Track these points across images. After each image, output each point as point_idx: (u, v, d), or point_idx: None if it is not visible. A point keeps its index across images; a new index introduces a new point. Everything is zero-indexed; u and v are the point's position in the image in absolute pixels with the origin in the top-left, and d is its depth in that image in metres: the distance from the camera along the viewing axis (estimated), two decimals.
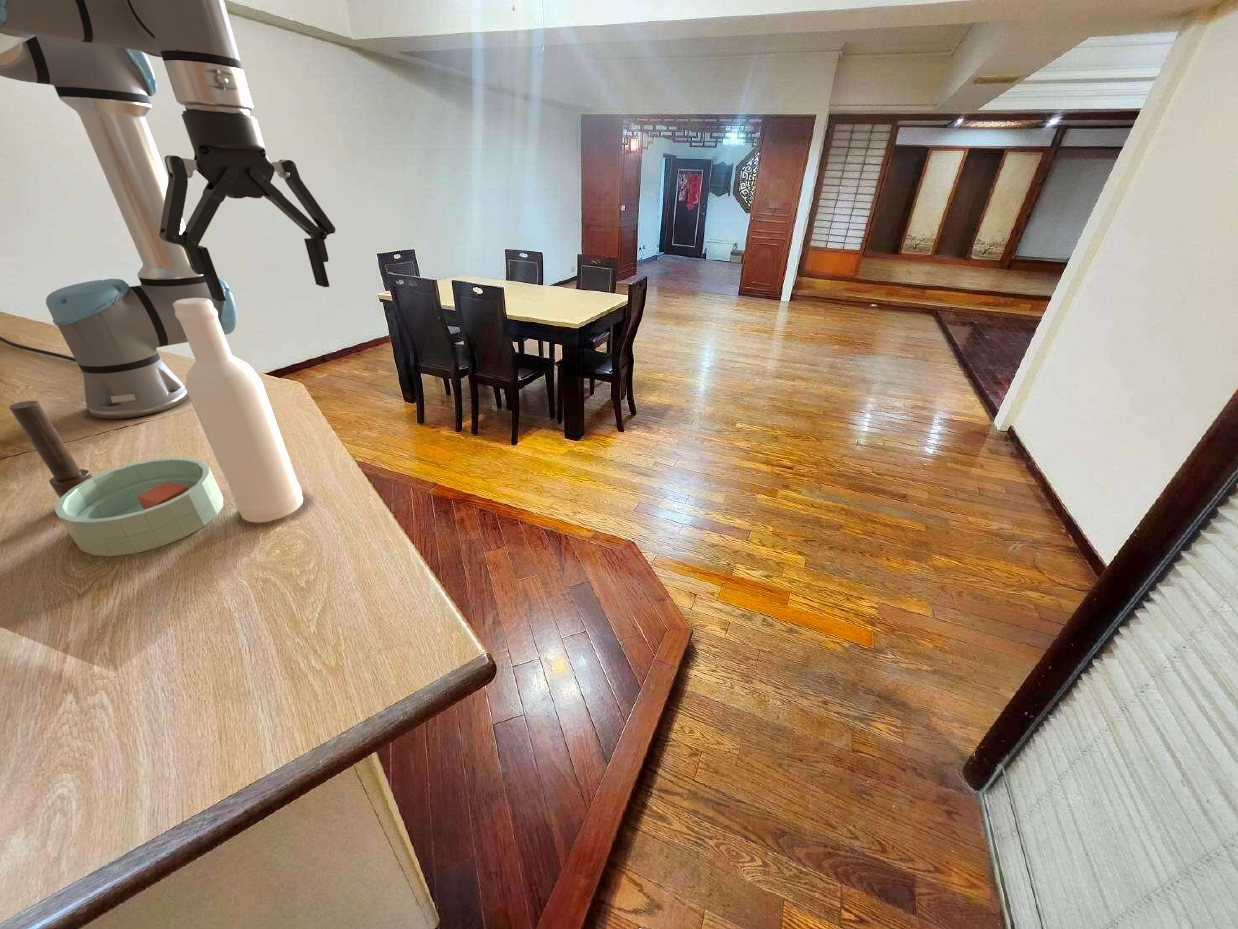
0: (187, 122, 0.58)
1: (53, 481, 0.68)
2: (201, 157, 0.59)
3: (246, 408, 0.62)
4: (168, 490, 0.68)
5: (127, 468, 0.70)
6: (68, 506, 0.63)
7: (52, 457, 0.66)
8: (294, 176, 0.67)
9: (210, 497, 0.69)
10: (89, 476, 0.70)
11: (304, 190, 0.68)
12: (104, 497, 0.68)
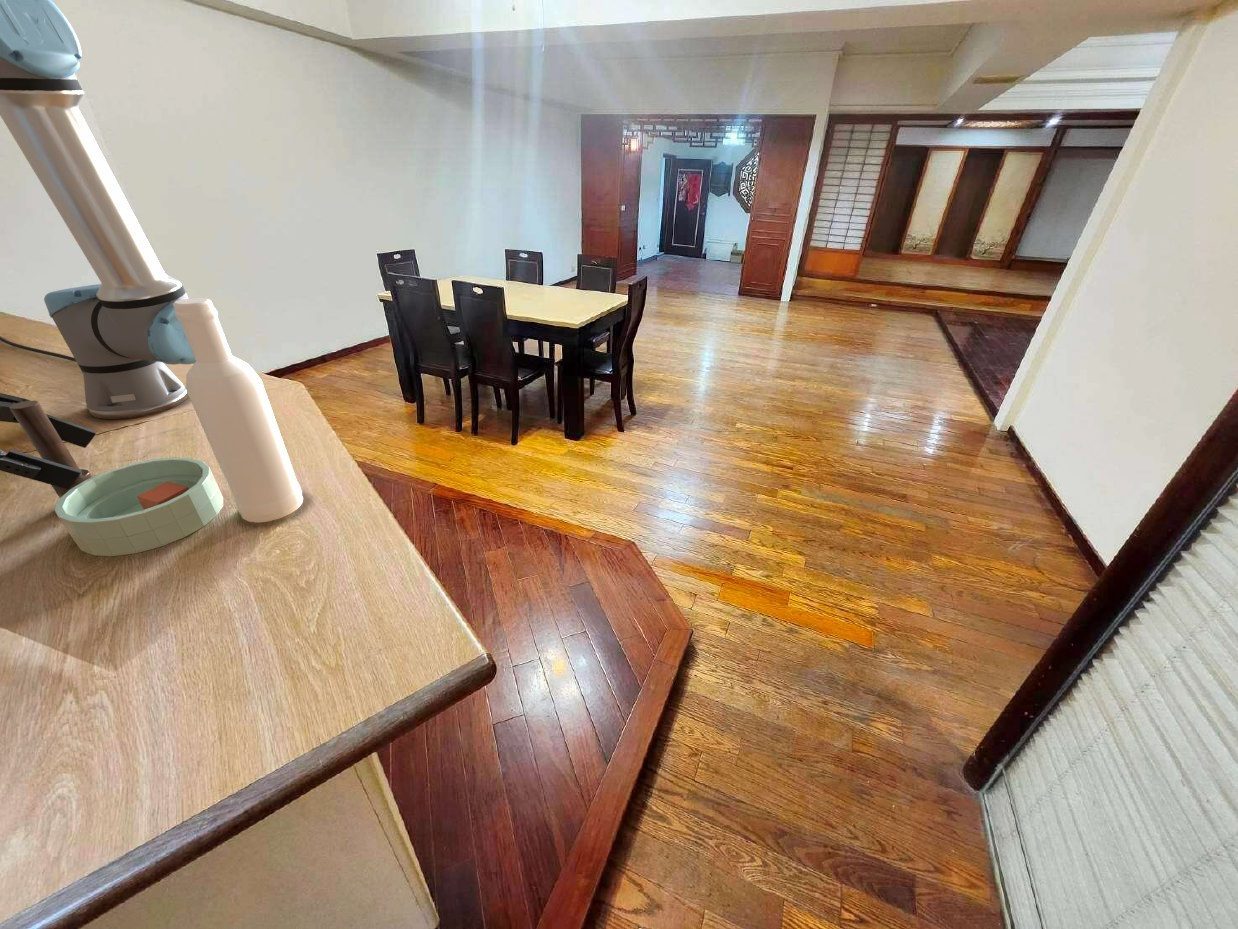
0: None
1: None
2: None
3: (246, 408, 0.62)
4: (168, 490, 0.68)
5: (127, 468, 0.70)
6: (68, 506, 0.63)
7: (52, 457, 0.66)
8: None
9: (210, 497, 0.69)
10: (89, 476, 0.70)
11: None
12: (104, 497, 0.68)
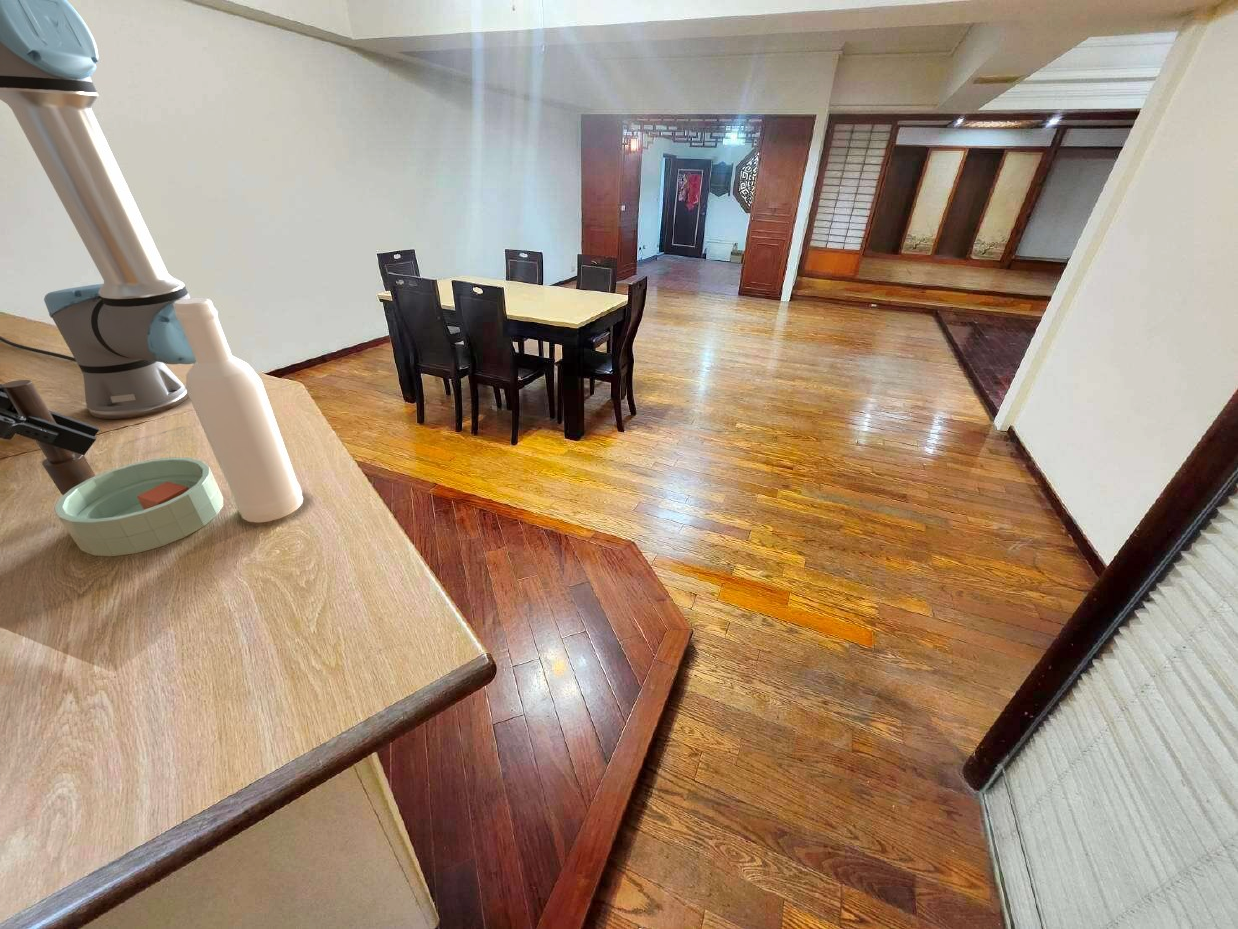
0: None
1: (46, 463, 0.67)
2: None
3: (246, 408, 0.62)
4: (168, 490, 0.68)
5: (127, 468, 0.70)
6: (68, 506, 0.63)
7: None
8: None
9: (210, 497, 0.69)
10: (83, 458, 0.69)
11: None
12: (104, 497, 0.68)
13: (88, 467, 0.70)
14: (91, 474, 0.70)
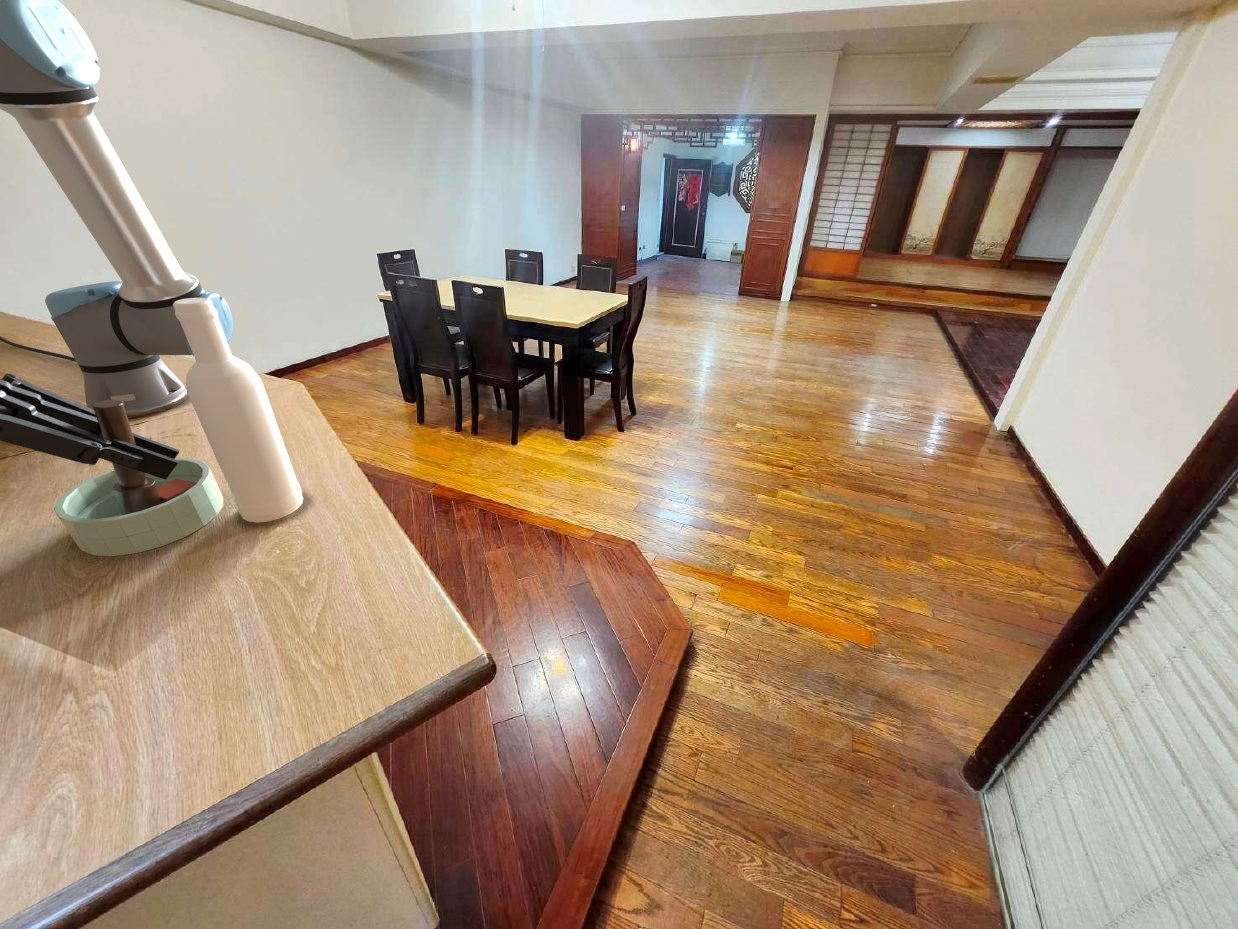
0: None
1: (118, 488, 0.62)
2: None
3: (246, 408, 0.62)
4: (177, 486, 0.69)
5: None
6: (68, 506, 0.63)
7: None
8: None
9: (210, 497, 0.69)
10: (155, 484, 0.65)
11: None
12: (104, 497, 0.68)
13: (158, 494, 0.66)
14: (160, 501, 0.66)
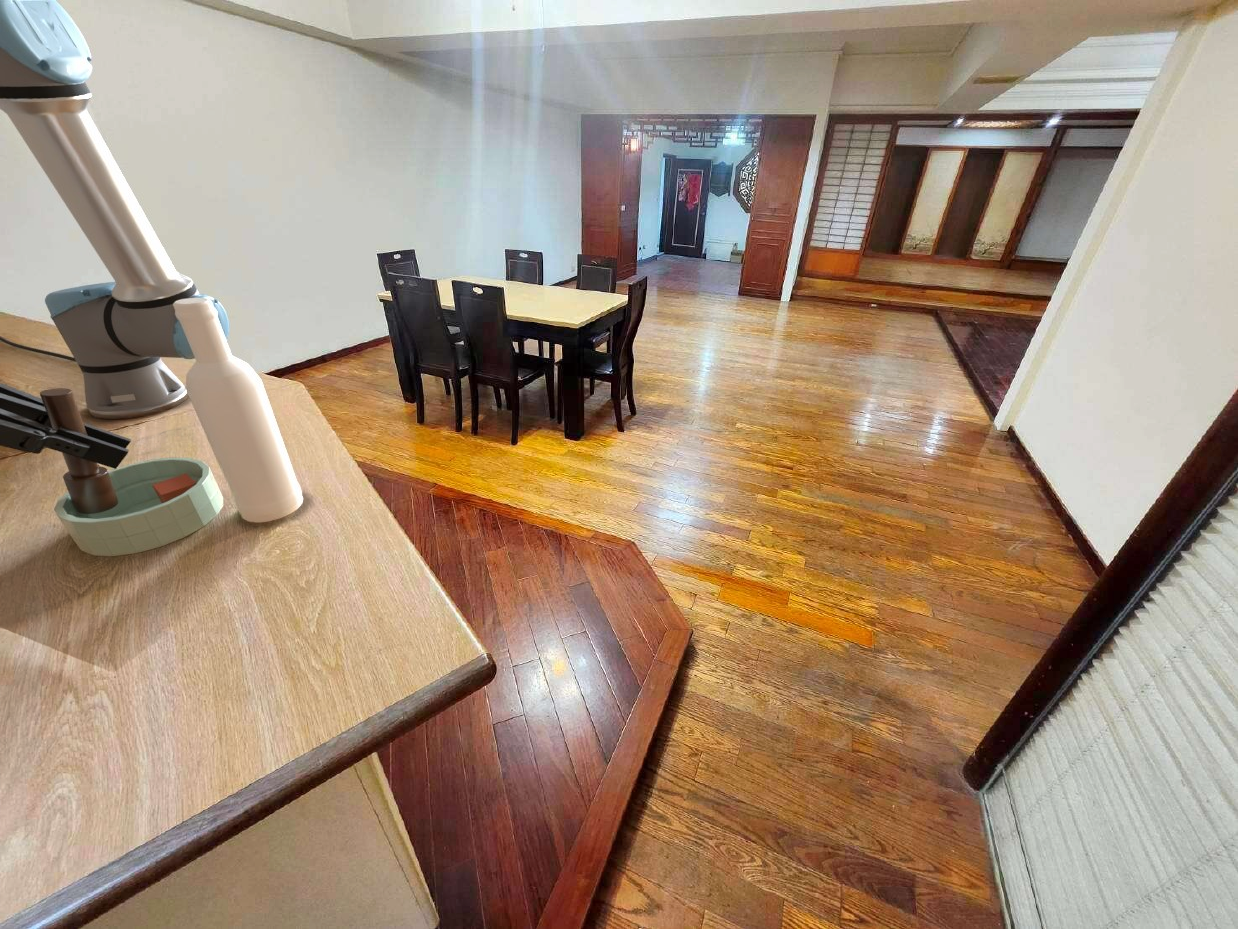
0: None
1: (69, 478, 0.62)
2: None
3: (246, 408, 0.62)
4: (179, 483, 0.69)
5: (127, 468, 0.70)
6: (68, 506, 0.63)
7: None
8: None
9: (210, 497, 0.69)
10: (108, 473, 0.64)
11: None
12: None
13: (111, 483, 0.65)
14: (113, 491, 0.65)
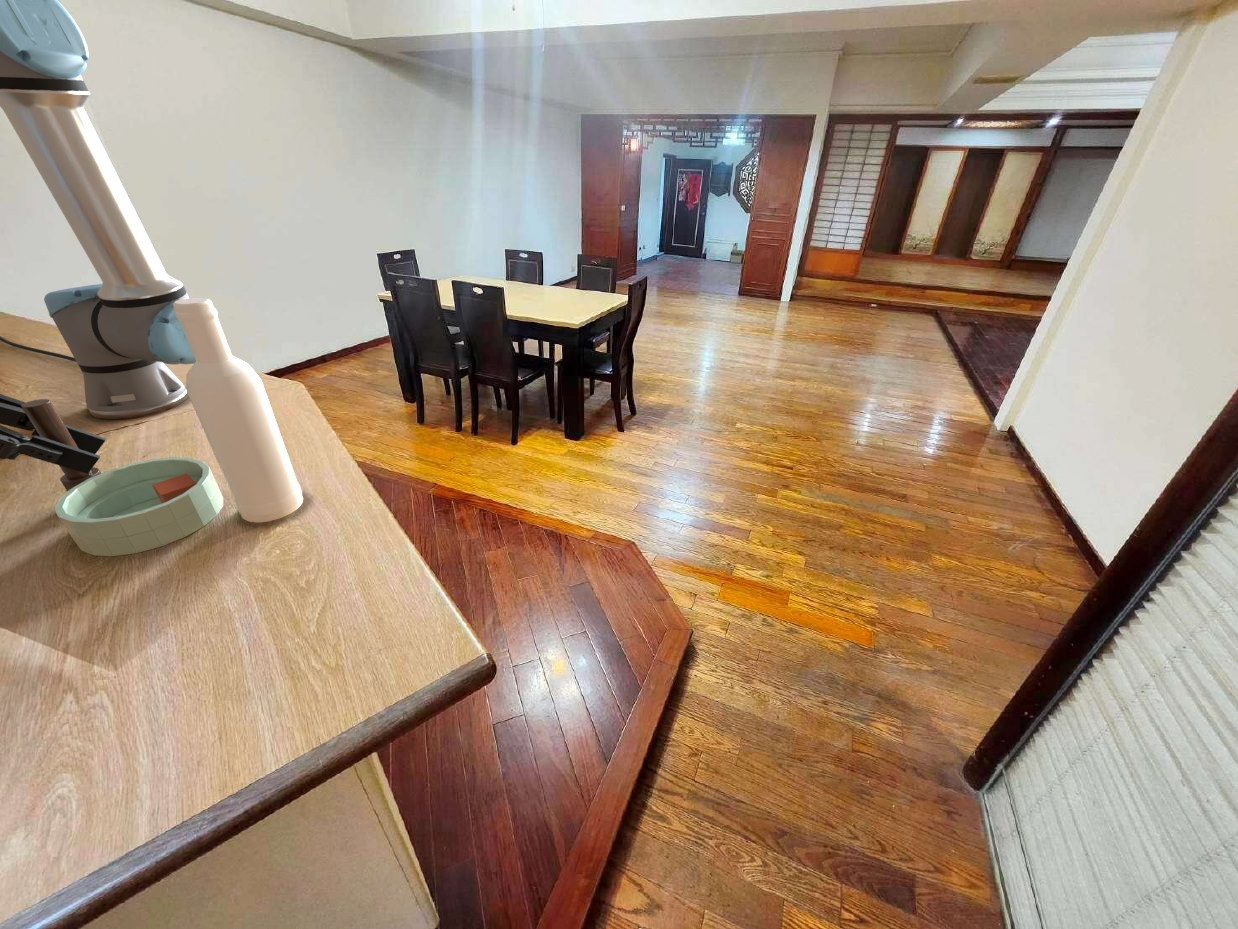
0: None
1: (64, 479, 0.68)
2: None
3: (246, 408, 0.62)
4: (179, 483, 0.69)
5: (127, 468, 0.70)
6: (68, 506, 0.63)
7: None
8: None
9: (210, 497, 0.69)
10: None
11: None
12: (104, 497, 0.68)
13: None
14: None
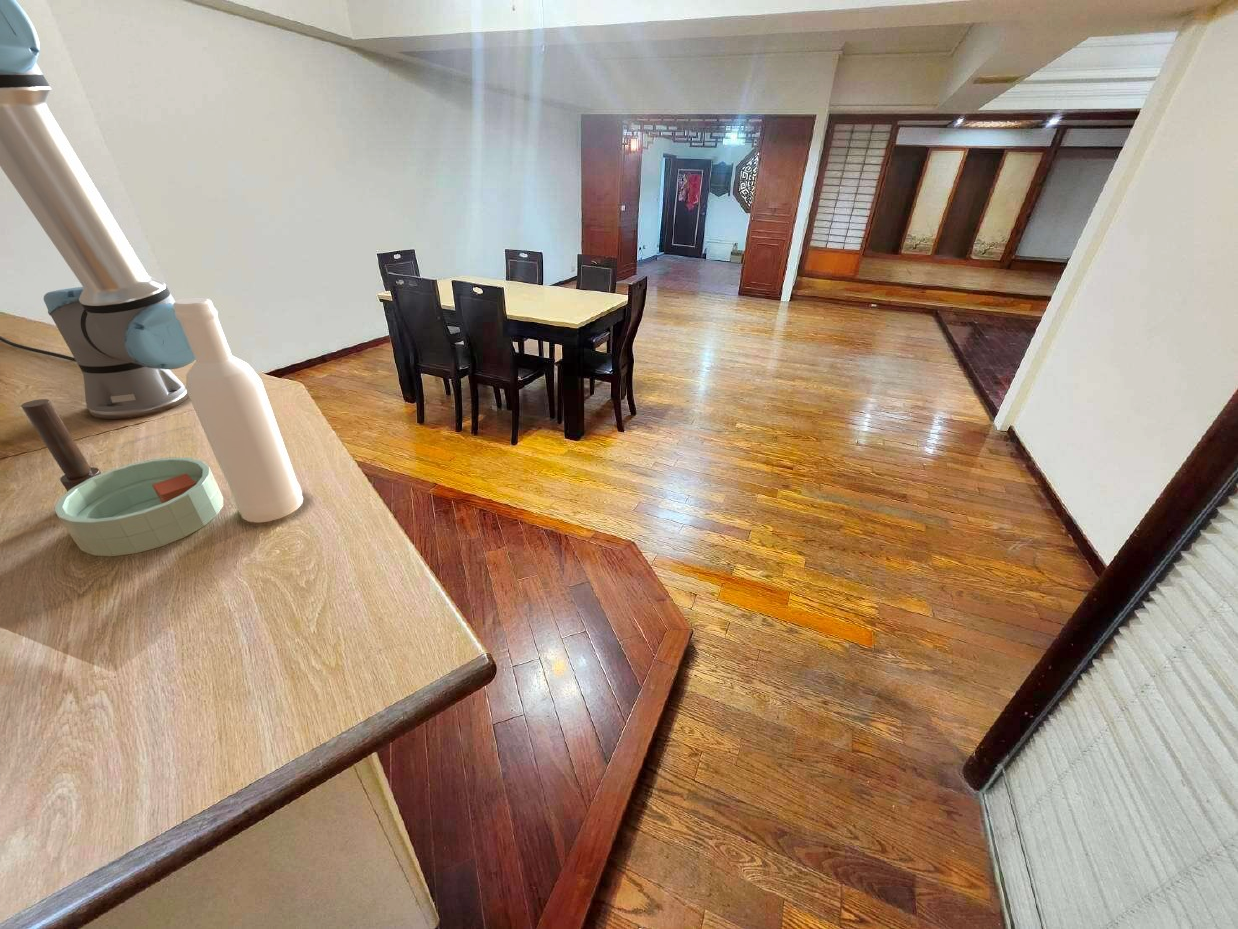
0: None
1: (64, 479, 0.68)
2: None
3: (246, 408, 0.62)
4: (179, 483, 0.69)
5: (127, 468, 0.70)
6: (68, 506, 0.63)
7: (62, 455, 0.67)
8: None
9: (210, 497, 0.69)
10: None
11: None
12: (104, 497, 0.68)
13: None
14: None
